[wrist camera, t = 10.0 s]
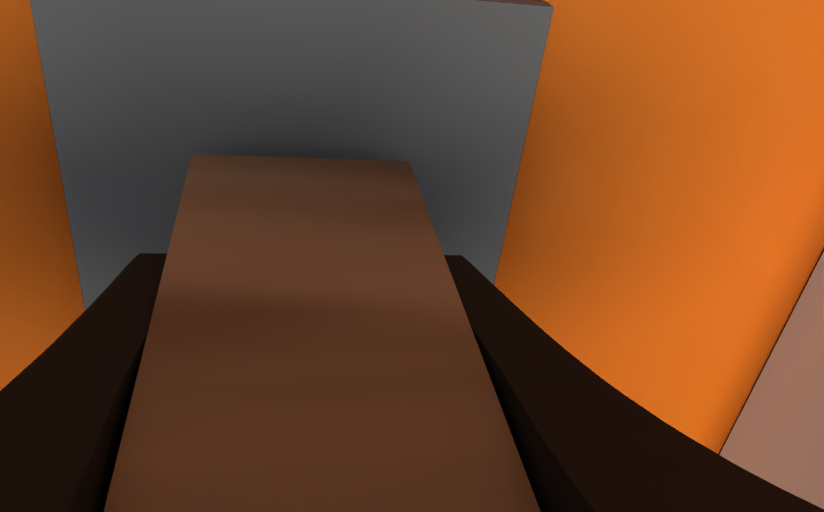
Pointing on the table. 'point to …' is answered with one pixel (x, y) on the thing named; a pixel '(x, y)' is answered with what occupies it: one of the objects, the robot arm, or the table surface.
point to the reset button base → (788, 405)
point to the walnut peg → (311, 354)
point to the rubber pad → (285, 105)
